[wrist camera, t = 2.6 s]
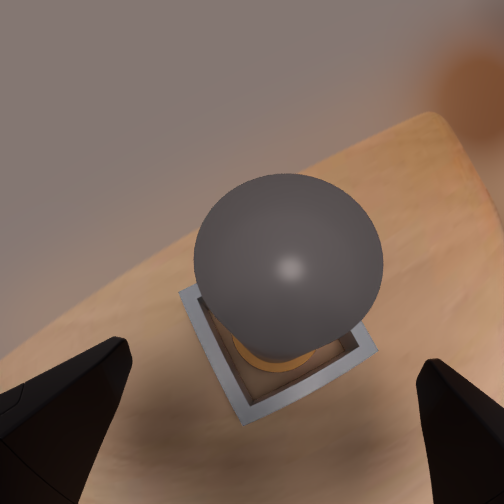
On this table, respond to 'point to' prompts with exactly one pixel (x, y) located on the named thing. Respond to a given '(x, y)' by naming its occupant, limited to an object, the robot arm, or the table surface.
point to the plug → (287, 267)
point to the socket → (250, 410)
